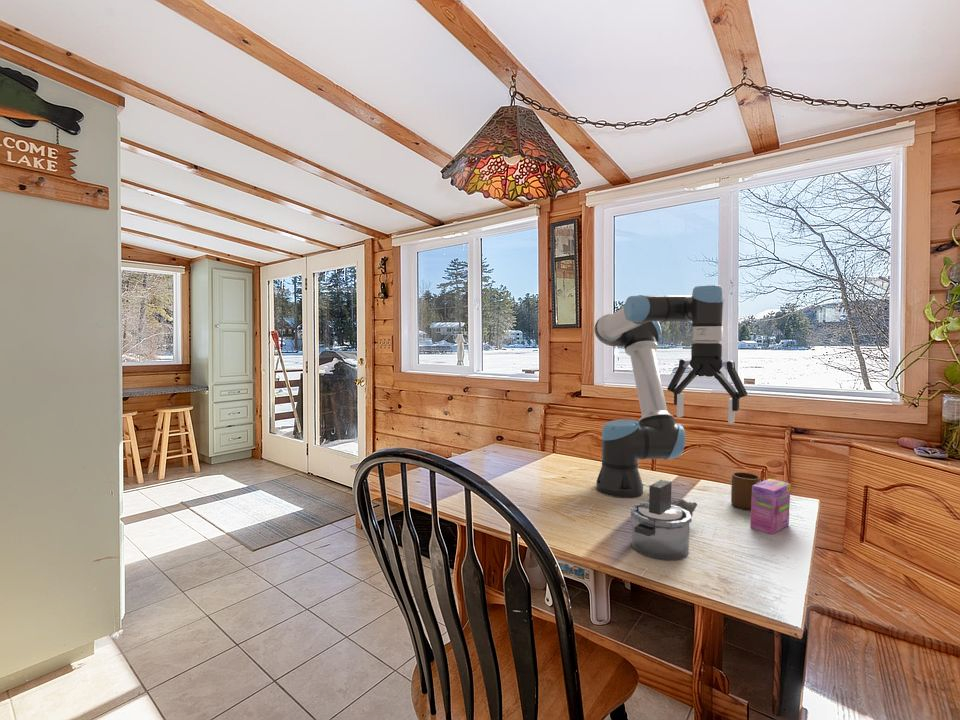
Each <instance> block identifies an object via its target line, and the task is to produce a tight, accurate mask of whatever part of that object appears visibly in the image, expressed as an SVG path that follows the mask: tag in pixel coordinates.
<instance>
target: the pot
mask: <svg viewBox="0 0 960 720" xmlns="http://www.w3.org/2000/svg"><path fill="white" fill-rule="evenodd" d="M645 503H649V501H644V502H643V501H642V502H637V503H635V504H633V505H631V506H630V516H631V548H632V549H633V550H634V551H636V552H637V553H638V554H640V555H641V556H644V557H647V558H650V559H654V560H661V561H669V562H670V561H680V560H682V559H683V560H684V559H685V558H687V557H688V555H689V553H690V552H689V551H690V550H689V549H690V548H689V546H690V544H689V543H690V523H692V518H693V516H692V517H691V515H690V512H688V511H687V510H685V509H683V508H681V507H679V506H675V505H671V506H674V507H677V508H679V509H680V510H681V511H682V520H678V521H660V520H654V519H650V518H647V517H643V516H641V515H640V514H638V509H639V506H640V505H641V504H645Z"/></svg>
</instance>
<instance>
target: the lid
mask: <svg viewBox="0 0 960 720" xmlns="http://www.w3.org/2000/svg"><path fill="white" fill-rule="evenodd" d="M672 484H673V483H672V481H670V480H666V479H665V480H664V479H660V480H658V481H656V482H654V483H652V484H650V485H649V490H648V492H649V493H648V495H649V498H648V500H649V501H648V502H649V503H645V504H641V505H640V506H639V509H638V514H640V515H641V516H643V517H647V518H650V519H654V520H660V521H678V520H682V511H681V510H680V509H679V508H677V507H674V506H671V500H672Z"/></svg>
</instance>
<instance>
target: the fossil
mask: <svg viewBox="0 0 960 720" xmlns="http://www.w3.org/2000/svg"><path fill="white" fill-rule="evenodd" d="M671 505H675V506H679V507H681V508H683V509H685V510H687V511H688V512H690V515H691V517H692V518H693V515H694V514H693V512H695V511H696V510H695V509H696V507H697V506H698V504H697V502H695V501H693V502H690V501H689V502H688V501H687V500H685V499H682V498H681V499H677V500H675V499H671Z"/></svg>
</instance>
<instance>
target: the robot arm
mask: <svg viewBox="0 0 960 720" xmlns="http://www.w3.org/2000/svg"><path fill="white" fill-rule="evenodd" d="M724 300H725V299H724V288H723V287H722V286H721V285H720V284H704V285H703V284H702V285H696V286H694V287H693V288H692V294H691V295H643V294H638V295H630V296H628V297H627V298H626V300H625V301H624V306H623V307H621V308H619V310H616V311H615V312H613V313H607V314H605V315H602V316H601V317H599V318H598V319H597V321H596V322H595V323H594V334H595V336H596V338H597V340H599V342H601V343H603V344H604V345H607V346H609V347H621V348H622V347H623V348H624V352H625V354H626V355H628V356H629V357H630V361H631V366H632V370H633V376H634V382H635V388H636V392H637V396H638V397H637V398H638V401H639V403H638V404H639V407H640V413H641V417H640V418H639V419H638V420H636V419H631V418H630V419H628V418H627V419H625V418H623V419H615V420H611V421H607V422H605V423H604V425H603V426H602V433H601V467H600V470H599V473H598V476H597V478H596V483H595V487H596V488H595V490H596V491H598V492H599V493H601V494H603V495H607V496H610V497H614V498H615V497H616V498H635V497H639V496H642V495H643V494H644V483H643V481H642V480H643V479H642V477H641V474H640V471H639V460H670V459H672V460H673V459H677V458H679V457H681V455H682V454H683V452H684V449H685V446H686V431H685V429H684V426H683V425H682V424H681V423H678V422H676V421H675V418H674V415H673V414H671V413H670V412H669V411H668V406H667V403H666V398H665V393H664V389H663V384H662V380H661V379H662V378H661V374H660V370H659V369H660V368H659V365H658V360H657V355H656V351H657V349H658V347H659V345H660V343H661V342H662V339H663V338H662V327H661V325H660V322H661V323H662V322H664V323H665V322H666V323H668V322H672V323H674V322H675V323H677V322H679V323H689V322H691V341H692V342H693V343H691V348H690V349H691V350H690V352H691V358H690V360H688V359H686V358H684V359H683V358H681V359H679V363H678V367H677V369H676V371H675V374H674V375H673V377H672V379H671V381H670V382H669V384H668V386H667V391H668V392H672V393H673V404H674V405H676V418H682V417H684V409H685V407H684V404H685V403H684V402H685V401H684V400H685V393H682V392H683V391H684V390H685V389H686V388H687V386H688V385H689V384H690V383H691V382H692V381H694V379H695V378H696V377H697V376H698V377H707V378H711V377H714V379H716V380H717V381H718V383H720V385H721V386H722V388H723V389H724V390H725V391H726V392H727V394H729V396H730V397H731V398H728V405H727V407H728V412H727V424H731V425H732V424H734V423H736V421H735V420H736V418H735V417H736V414H735V413H736V412H738V411H739V410H740V400H741V398H745V397H747V396H748V391H747V390H746V388H745V386H744V384H743V382H742V380H741V378H740V375H739V374H738V371H737V370H736V363H735V361H734V360H728V361H723V359H722V356H723V354H722V353H723V345H722V343H720V342H721V341H723V321H724V320H723V319H724V318H723V317H724V302H725V301H724ZM689 366H690V368H691V371H689V372H688V374H687V376H686V377H685V378H684V379H682V381H681V382H680V380H681V378H682V377H683V375H684V373H685V372H686V369H687V368H688V367H689ZM723 367H724V369H725V370H727V372H728V375H729V377H730V379H731V381H732V383H733V385H732V384H731V382H730V381H729V380H728V379H727V377H726V376H725V374H724V373H723V372H722V371H721V369H722V368H723ZM679 382H680V383H679ZM734 387H735V388H734Z"/></svg>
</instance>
